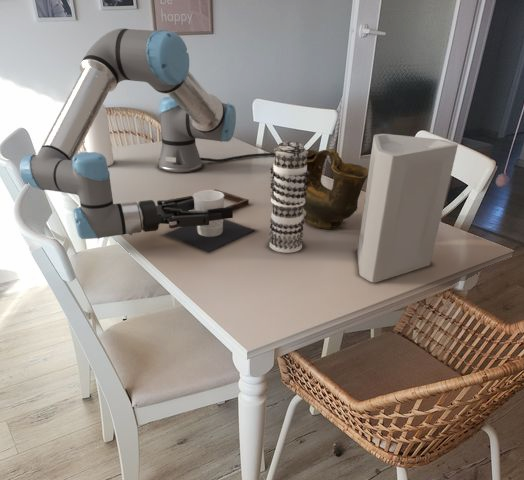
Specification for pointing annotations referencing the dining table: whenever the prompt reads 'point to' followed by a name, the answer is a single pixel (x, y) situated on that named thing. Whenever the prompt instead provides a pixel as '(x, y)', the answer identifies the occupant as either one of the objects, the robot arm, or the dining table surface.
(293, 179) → the decorative candle
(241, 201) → the wooden frame
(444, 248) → the dining table surface
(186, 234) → the mat
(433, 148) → the white triangular vase
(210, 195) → the white cup
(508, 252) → the dining table surface
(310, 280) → the dining table surface
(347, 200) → the pottery vessel
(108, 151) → the alcohol
